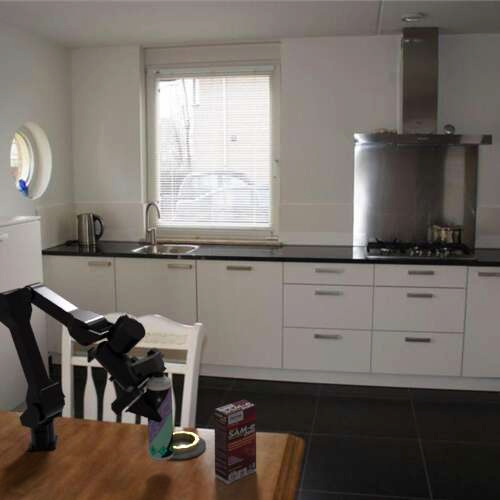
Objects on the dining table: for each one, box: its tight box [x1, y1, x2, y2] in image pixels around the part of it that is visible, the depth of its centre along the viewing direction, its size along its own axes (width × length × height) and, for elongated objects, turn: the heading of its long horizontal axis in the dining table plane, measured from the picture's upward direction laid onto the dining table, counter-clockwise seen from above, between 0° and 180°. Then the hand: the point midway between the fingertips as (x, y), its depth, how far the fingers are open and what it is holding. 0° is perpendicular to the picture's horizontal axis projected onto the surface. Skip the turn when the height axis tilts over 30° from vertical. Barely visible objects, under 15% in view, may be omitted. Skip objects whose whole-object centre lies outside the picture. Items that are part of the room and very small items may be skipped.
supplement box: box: [213, 399, 257, 485], centre depth 139 cm, size 9×5×16 cm, turn 131°
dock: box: [169, 430, 207, 461], centre depth 152 cm, size 12×12×2 cm
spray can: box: [146, 370, 174, 462], centre depth 140 cm, size 6×6×20 cm
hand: (165, 415), depth 140 cm, fingers closed on spray can, 5 cm apart
